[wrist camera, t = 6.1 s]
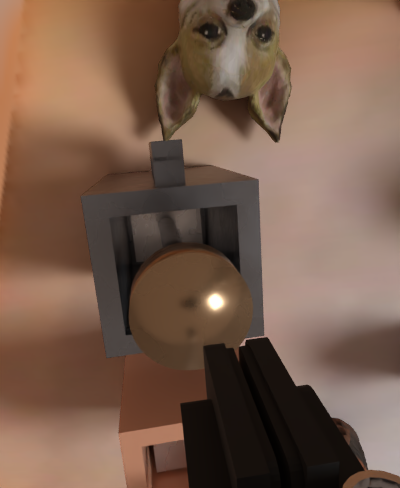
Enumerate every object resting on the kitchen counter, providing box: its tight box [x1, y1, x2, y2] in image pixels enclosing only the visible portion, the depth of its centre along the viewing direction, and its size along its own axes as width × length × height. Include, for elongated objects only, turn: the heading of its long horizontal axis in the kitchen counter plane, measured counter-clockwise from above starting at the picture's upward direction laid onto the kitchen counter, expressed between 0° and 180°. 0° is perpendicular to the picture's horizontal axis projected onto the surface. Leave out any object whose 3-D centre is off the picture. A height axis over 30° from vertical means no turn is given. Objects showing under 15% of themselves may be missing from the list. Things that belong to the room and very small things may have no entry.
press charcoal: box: [81, 139, 264, 358], centre depth 27 cm, size 11×9×14 cm
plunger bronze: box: [129, 208, 253, 370], centre depth 24 cm, size 6×6×18 cm
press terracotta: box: [119, 348, 239, 488], centre depth 31 cm, size 11×9×14 cm
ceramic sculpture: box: [155, 0, 292, 142], centre depth 27 cm, size 11×9×15 cm
